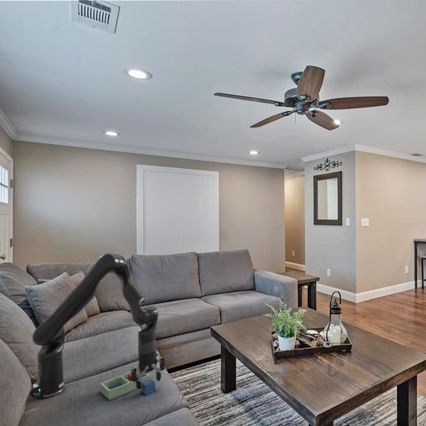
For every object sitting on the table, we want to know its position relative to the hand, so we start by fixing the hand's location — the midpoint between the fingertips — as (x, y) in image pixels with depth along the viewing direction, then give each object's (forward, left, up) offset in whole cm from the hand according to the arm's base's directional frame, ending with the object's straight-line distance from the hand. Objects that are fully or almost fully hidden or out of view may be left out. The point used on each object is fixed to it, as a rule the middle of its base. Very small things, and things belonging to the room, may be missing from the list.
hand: (148, 384), depth 152 cm
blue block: (0, 0, -3) cm, 3 cm away
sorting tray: (-5, +13, -3) cm, 14 cm away
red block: (-1, +13, -2) cm, 13 cm away
